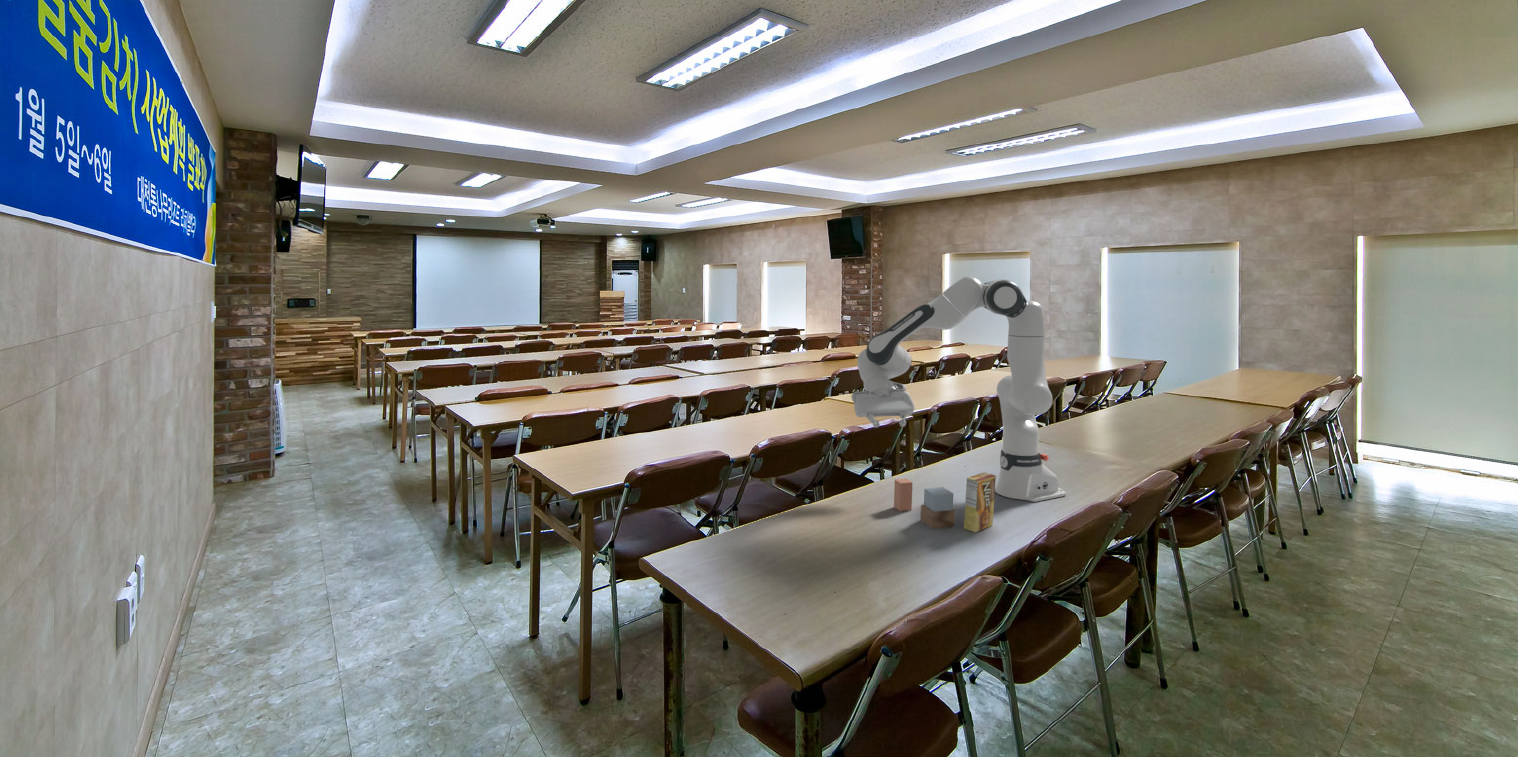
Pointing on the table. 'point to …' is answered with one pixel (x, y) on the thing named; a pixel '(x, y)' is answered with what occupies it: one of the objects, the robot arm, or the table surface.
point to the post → (903, 494)
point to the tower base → (937, 517)
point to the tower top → (938, 499)
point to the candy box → (979, 501)
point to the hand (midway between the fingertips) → (890, 426)
